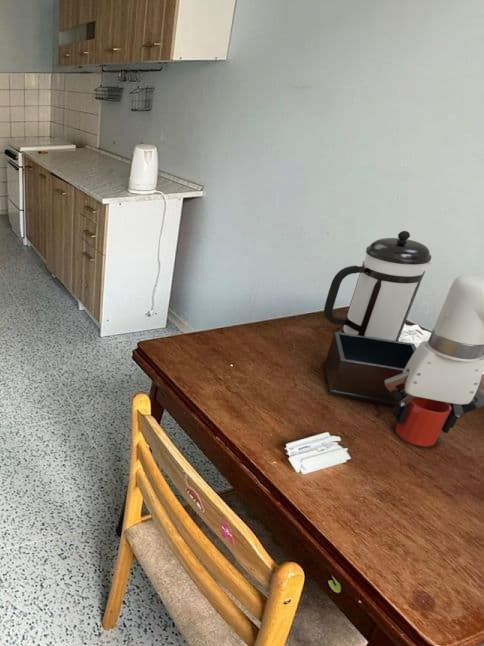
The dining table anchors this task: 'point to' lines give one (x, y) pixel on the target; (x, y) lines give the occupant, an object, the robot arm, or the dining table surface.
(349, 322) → the coffee press
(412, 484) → the dining table surface
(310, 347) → the dining table surface
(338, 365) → the dark open box
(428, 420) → the cup
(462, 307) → the robot arm
